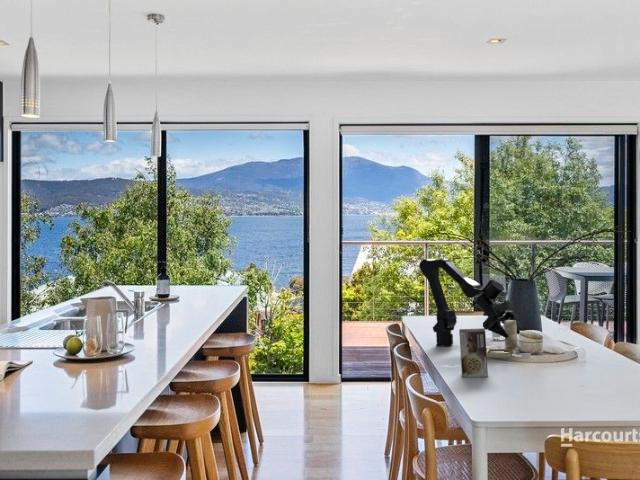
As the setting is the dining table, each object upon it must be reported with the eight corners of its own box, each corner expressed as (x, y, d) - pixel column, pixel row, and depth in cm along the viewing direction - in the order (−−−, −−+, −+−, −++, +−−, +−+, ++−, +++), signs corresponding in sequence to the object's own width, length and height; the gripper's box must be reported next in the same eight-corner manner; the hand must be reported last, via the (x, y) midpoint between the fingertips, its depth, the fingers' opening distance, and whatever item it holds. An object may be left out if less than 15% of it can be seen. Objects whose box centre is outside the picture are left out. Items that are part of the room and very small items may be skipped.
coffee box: (487, 373, 239) (485, 328, 239) (488, 377, 233) (486, 330, 232) (461, 373, 241) (459, 328, 241) (461, 377, 235) (459, 331, 234)
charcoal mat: (466, 359, 264) (466, 357, 264) (474, 348, 287) (474, 346, 287) (529, 360, 256) (529, 358, 256) (533, 348, 278) (533, 346, 278)
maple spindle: (503, 351, 272) (501, 322, 272) (504, 348, 278) (503, 319, 277) (518, 351, 270) (517, 322, 270) (519, 349, 275) (518, 319, 275)
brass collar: (484, 357, 263) (484, 353, 263) (487, 352, 272) (487, 348, 272) (510, 357, 259) (510, 353, 259) (513, 352, 269) (512, 348, 269)
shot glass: (507, 340, 301) (506, 325, 300) (491, 340, 302) (491, 325, 302) (506, 338, 307) (505, 322, 307) (491, 338, 309) (490, 323, 309)
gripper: (487, 296, 270) (513, 325, 262) (511, 291, 283) (537, 319, 275) (471, 315, 276) (497, 344, 268) (496, 309, 289) (520, 336, 281)
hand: (513, 335), depth 273 cm, fingers open, 9 cm apart
